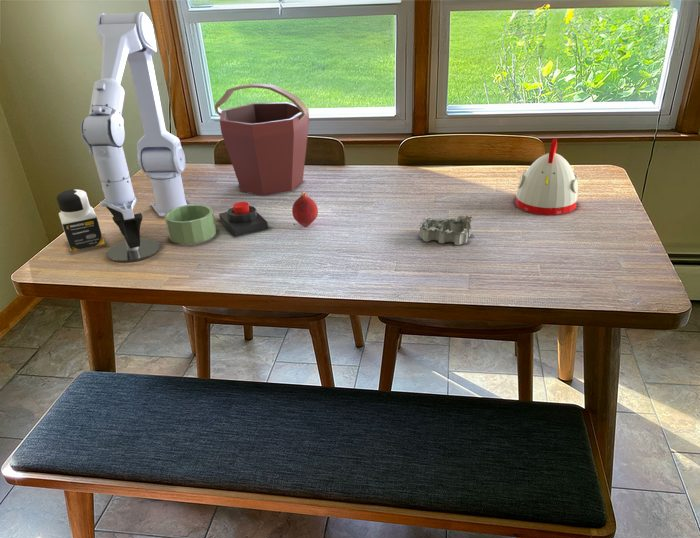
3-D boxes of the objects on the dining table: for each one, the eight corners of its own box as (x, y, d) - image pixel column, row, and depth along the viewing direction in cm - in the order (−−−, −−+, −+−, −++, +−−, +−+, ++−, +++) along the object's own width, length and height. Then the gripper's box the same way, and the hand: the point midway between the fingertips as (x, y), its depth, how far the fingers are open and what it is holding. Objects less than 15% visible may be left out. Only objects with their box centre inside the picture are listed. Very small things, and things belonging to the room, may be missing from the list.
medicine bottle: (71, 253, 134) (54, 200, 127) (67, 242, 139) (51, 190, 132) (105, 246, 136) (90, 193, 129) (100, 235, 142) (85, 184, 135)
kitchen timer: (510, 211, 143) (518, 146, 135) (520, 191, 154) (527, 129, 145) (573, 217, 139) (584, 150, 130) (578, 196, 149) (589, 133, 141)
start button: (231, 211, 142) (230, 203, 141) (246, 207, 143) (245, 200, 142) (236, 216, 139) (235, 208, 138) (251, 212, 141) (250, 205, 140)
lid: (103, 250, 135) (97, 230, 132) (154, 238, 139) (150, 218, 136) (112, 269, 126) (106, 249, 124) (166, 257, 130) (162, 236, 128)
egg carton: (473, 233, 134) (474, 216, 132) (464, 247, 128) (465, 229, 126) (426, 227, 138) (427, 210, 135) (415, 240, 132) (416, 222, 130)
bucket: (209, 189, 164) (192, 90, 150) (261, 165, 179) (249, 73, 165) (283, 204, 153) (271, 98, 139) (331, 177, 168) (325, 79, 154)
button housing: (219, 220, 146) (217, 206, 144) (251, 213, 149) (249, 199, 147) (234, 236, 138) (232, 222, 136) (268, 228, 141) (266, 214, 139)
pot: (165, 233, 141) (159, 210, 138) (208, 223, 145) (204, 201, 141) (176, 249, 133) (171, 226, 130) (222, 239, 137) (218, 215, 134)
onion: (315, 232, 138) (312, 197, 133) (290, 231, 139) (287, 196, 135) (321, 221, 143) (319, 188, 138) (297, 220, 144) (294, 187, 139)
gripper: (88, 171, 127) (106, 232, 135) (100, 192, 116) (118, 257, 124) (123, 165, 130) (138, 225, 137) (137, 184, 119) (153, 249, 126)
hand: (131, 240), depth 131 cm, fingers open, 7 cm apart
